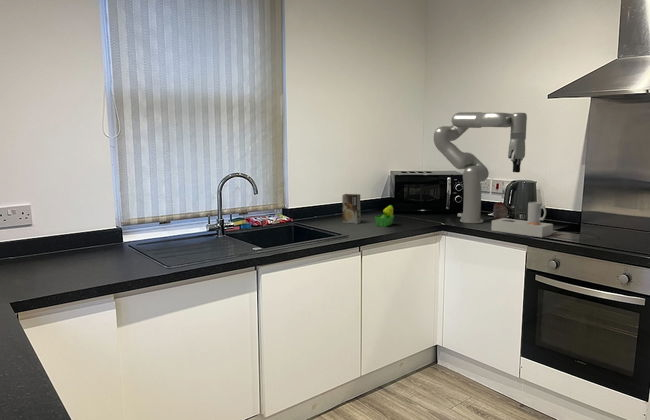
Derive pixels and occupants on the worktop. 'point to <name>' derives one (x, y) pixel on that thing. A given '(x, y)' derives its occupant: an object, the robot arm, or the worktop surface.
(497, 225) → the button panel
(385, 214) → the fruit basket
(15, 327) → the worktop surface
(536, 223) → the terracotta button
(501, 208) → the food item
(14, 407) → the worktop surface
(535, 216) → the mug
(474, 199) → the robot arm
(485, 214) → the worktop surface
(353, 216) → the coffee box
